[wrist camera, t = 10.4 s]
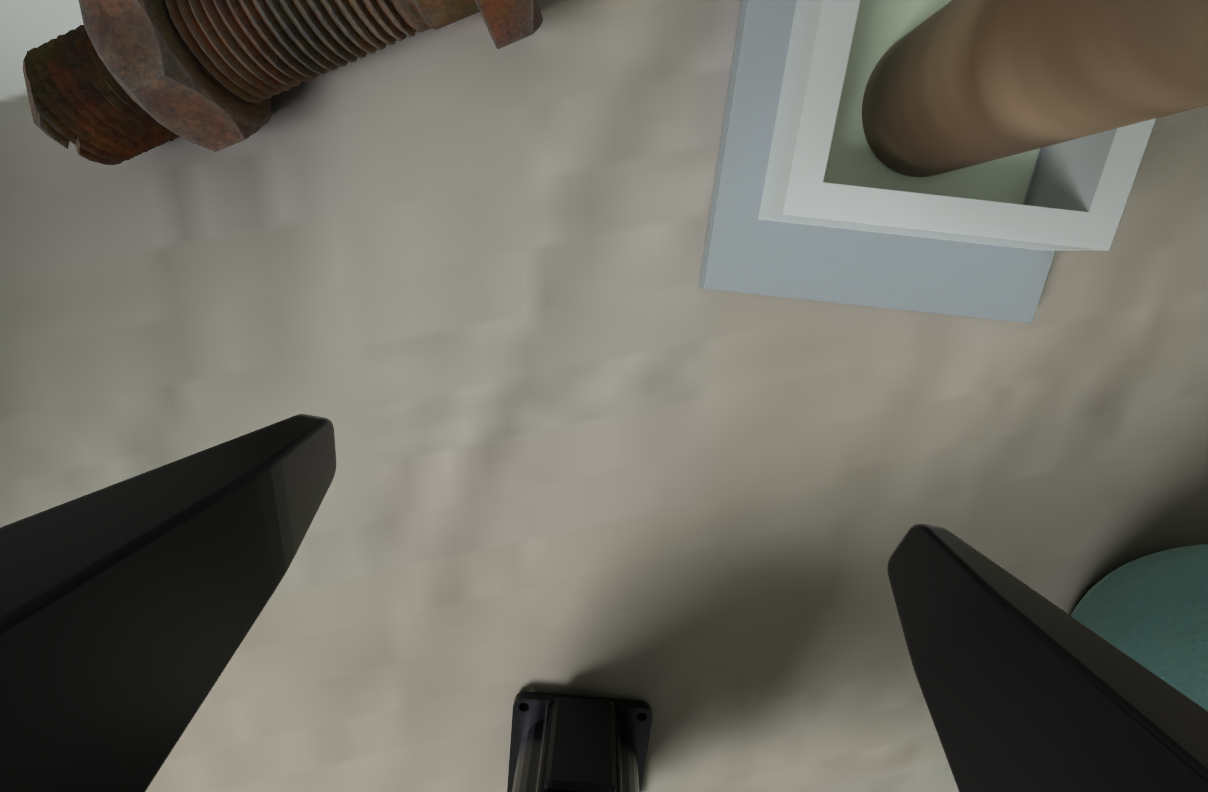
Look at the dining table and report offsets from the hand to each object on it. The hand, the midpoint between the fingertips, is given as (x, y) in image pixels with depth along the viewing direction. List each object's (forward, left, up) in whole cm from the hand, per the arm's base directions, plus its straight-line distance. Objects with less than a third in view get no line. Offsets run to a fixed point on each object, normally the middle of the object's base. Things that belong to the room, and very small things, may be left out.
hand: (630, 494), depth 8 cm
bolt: (+9, +11, -13) cm, 19 cm away
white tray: (+9, -9, -12) cm, 18 cm away
